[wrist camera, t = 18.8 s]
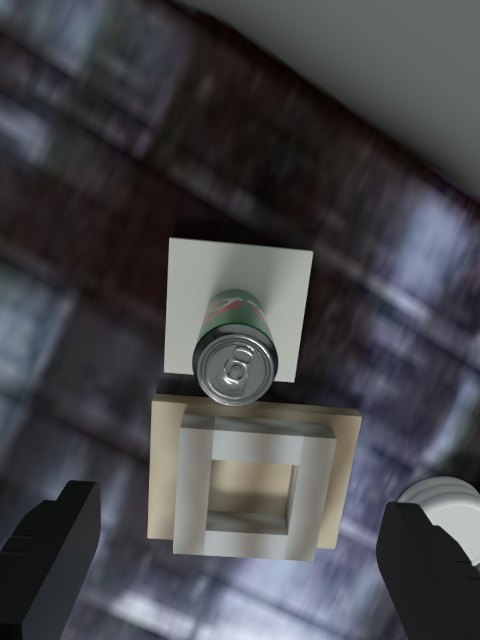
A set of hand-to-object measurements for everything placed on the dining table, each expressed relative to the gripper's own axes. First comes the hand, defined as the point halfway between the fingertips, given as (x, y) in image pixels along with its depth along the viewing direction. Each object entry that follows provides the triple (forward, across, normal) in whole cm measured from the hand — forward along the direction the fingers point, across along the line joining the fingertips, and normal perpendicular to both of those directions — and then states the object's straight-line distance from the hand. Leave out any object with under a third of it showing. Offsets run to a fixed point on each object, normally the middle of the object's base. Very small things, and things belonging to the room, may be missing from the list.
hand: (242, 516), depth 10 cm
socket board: (+24, -3, +17) cm, 29 cm away
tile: (+24, 0, 0) cm, 24 cm away
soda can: (+22, 0, 0) cm, 22 cm away
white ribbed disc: (+24, -24, +21) cm, 40 cm away
